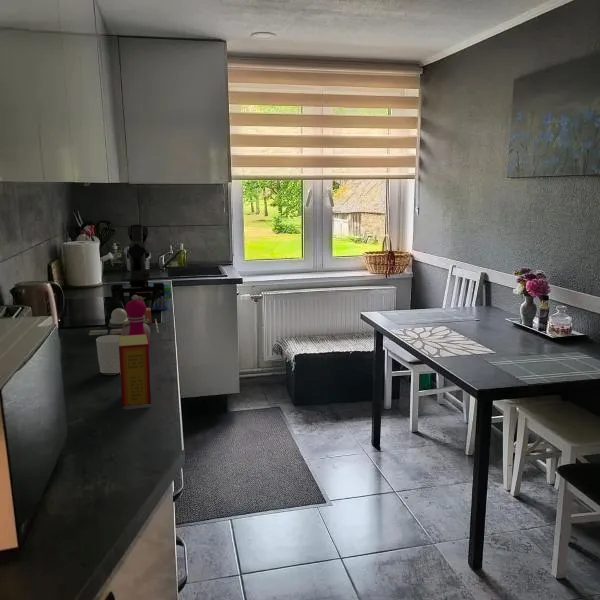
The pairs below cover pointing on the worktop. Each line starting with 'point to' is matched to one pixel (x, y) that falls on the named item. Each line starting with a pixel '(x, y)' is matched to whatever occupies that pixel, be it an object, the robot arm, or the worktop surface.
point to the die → (148, 315)
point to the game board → (113, 331)
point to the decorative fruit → (127, 328)
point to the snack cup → (162, 299)
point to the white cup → (108, 353)
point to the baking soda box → (134, 370)
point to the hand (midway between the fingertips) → (138, 309)
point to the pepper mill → (136, 316)
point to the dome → (119, 316)
